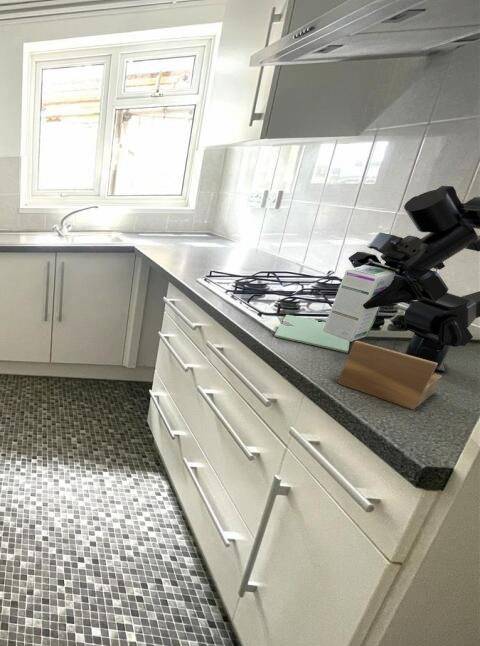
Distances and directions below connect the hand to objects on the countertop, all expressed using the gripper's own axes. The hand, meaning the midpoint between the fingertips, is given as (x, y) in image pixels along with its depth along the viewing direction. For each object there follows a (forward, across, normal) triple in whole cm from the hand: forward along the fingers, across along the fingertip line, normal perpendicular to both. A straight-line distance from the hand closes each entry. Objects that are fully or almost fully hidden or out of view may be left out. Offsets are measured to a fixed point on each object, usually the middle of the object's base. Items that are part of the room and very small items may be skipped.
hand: (350, 301), depth 86 cm
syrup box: (+4, -1, +7) cm, 8 cm away
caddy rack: (+8, +13, +11) cm, 19 cm away
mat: (+5, -16, +14) cm, 22 cm away
